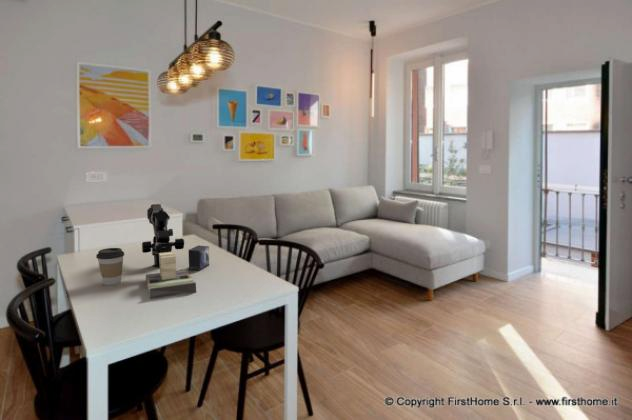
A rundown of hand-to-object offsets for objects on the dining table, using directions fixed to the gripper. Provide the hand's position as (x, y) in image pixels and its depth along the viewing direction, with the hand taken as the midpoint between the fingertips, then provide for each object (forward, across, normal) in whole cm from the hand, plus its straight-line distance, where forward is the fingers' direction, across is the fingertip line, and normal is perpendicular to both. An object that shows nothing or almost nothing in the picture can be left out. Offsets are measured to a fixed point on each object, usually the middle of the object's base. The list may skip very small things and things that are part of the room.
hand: (165, 260), depth 188 cm
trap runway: (+16, 0, -4) cm, 17 cm away
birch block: (+10, 0, -3) cm, 10 cm away
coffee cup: (+4, -23, +7) cm, 24 cm away
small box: (-1, +17, +12) cm, 21 cm away
